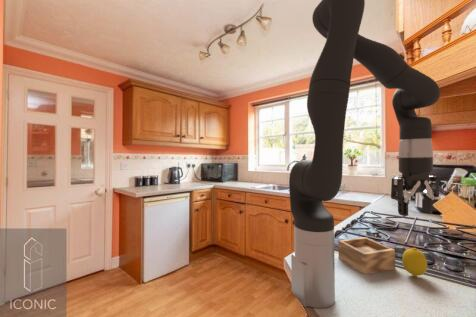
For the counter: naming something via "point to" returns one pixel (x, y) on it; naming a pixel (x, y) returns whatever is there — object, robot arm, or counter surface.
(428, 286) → the counter surface
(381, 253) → the oak box
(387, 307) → the counter surface
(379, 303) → the counter surface
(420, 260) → the lemon
